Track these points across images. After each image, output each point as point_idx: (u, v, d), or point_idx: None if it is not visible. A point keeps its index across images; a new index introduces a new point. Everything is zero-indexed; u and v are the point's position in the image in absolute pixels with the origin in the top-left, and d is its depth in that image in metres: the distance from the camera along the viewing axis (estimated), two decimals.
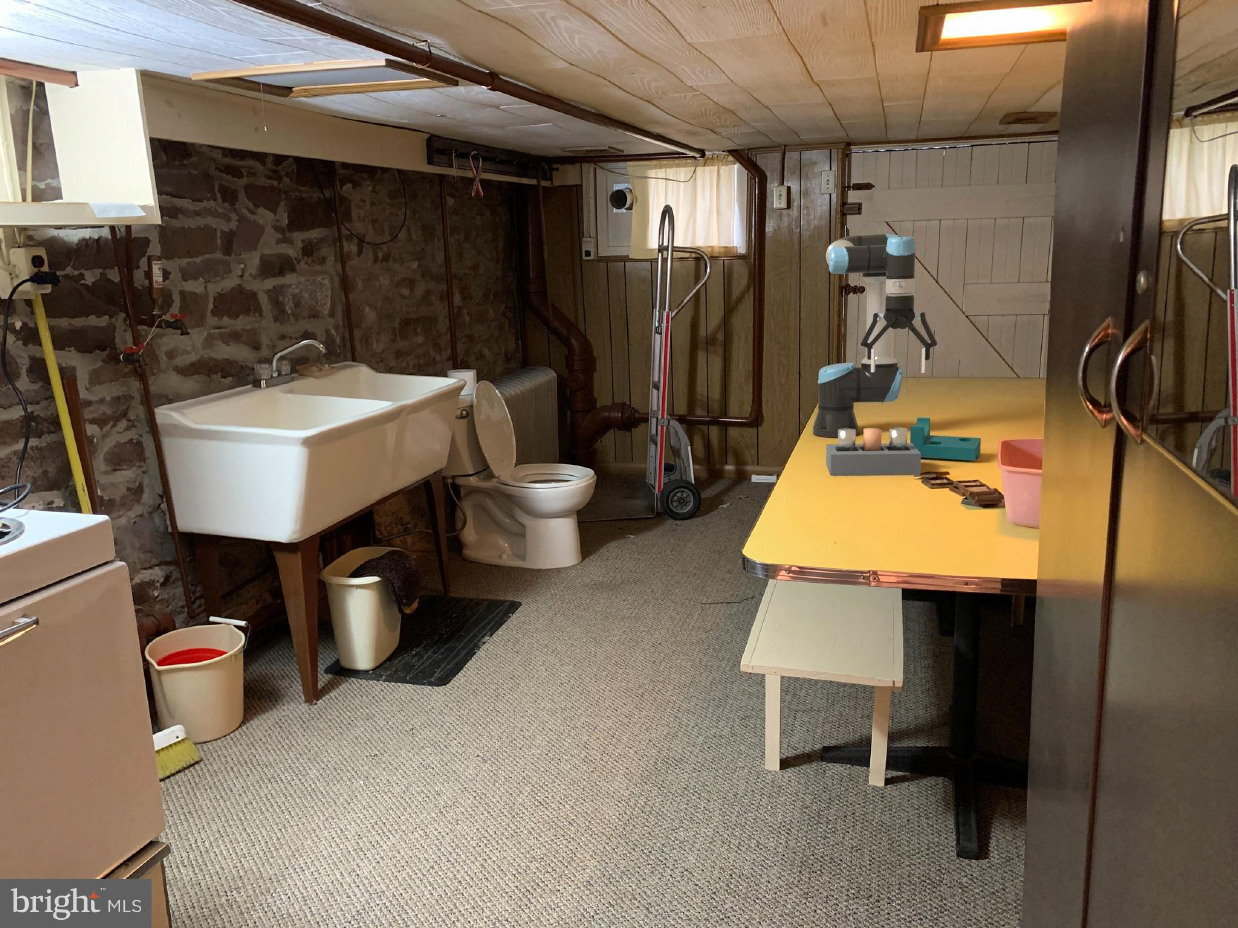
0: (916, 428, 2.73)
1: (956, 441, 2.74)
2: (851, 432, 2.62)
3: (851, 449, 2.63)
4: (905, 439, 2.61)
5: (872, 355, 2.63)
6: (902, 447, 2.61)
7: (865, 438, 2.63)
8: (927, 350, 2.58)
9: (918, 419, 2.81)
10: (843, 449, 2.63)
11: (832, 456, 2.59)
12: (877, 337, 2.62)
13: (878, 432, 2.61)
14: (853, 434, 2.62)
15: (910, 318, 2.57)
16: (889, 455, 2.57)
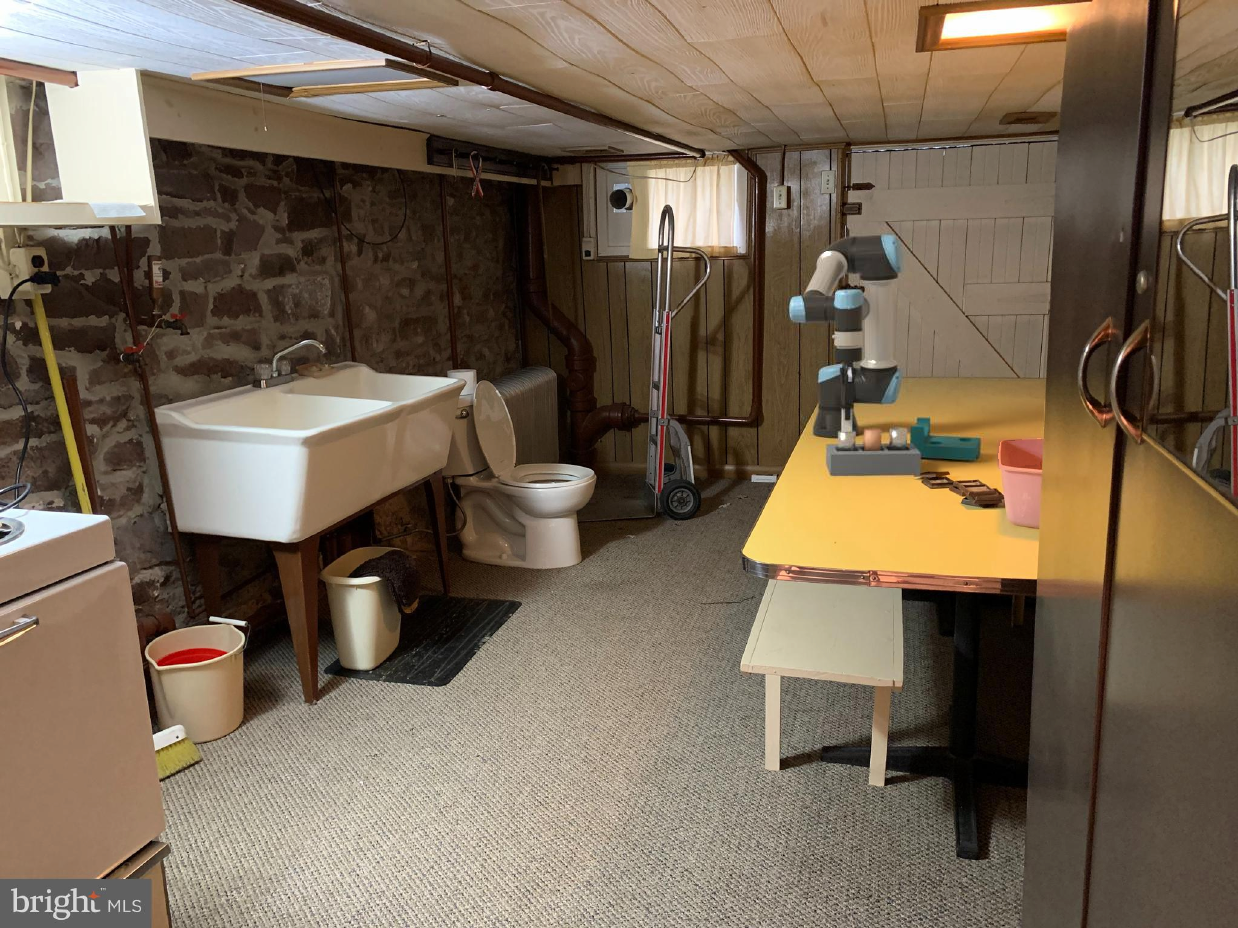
0: (916, 428, 2.73)
1: (956, 441, 2.74)
2: (851, 434, 2.62)
3: None
4: (905, 439, 2.61)
5: (841, 414, 2.63)
6: (902, 447, 2.61)
7: (865, 438, 2.63)
8: (845, 410, 2.61)
9: (918, 419, 2.81)
10: None
11: (832, 456, 2.59)
12: (842, 393, 2.63)
13: (878, 432, 2.61)
14: (853, 437, 2.62)
15: (844, 370, 2.58)
16: (889, 455, 2.57)
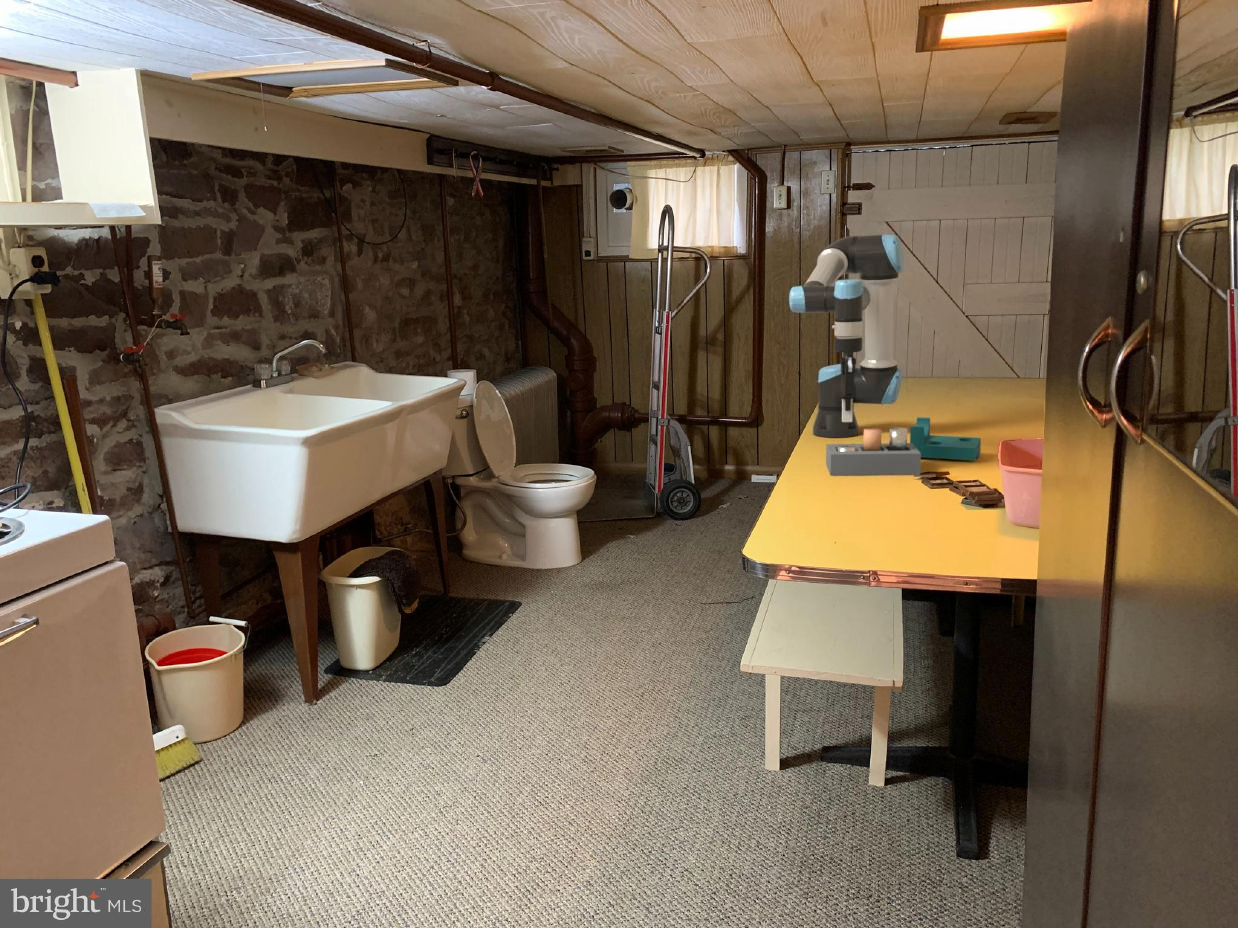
0: (916, 428, 2.73)
1: (956, 441, 2.74)
2: (851, 449, 2.63)
3: None
4: (905, 439, 2.61)
5: (842, 404, 2.63)
6: (902, 447, 2.61)
7: (865, 438, 2.63)
8: (845, 401, 2.61)
9: (918, 419, 2.81)
10: None
11: (832, 456, 2.59)
12: (842, 383, 2.62)
13: (878, 432, 2.61)
14: None
15: (844, 361, 2.57)
16: (889, 455, 2.57)
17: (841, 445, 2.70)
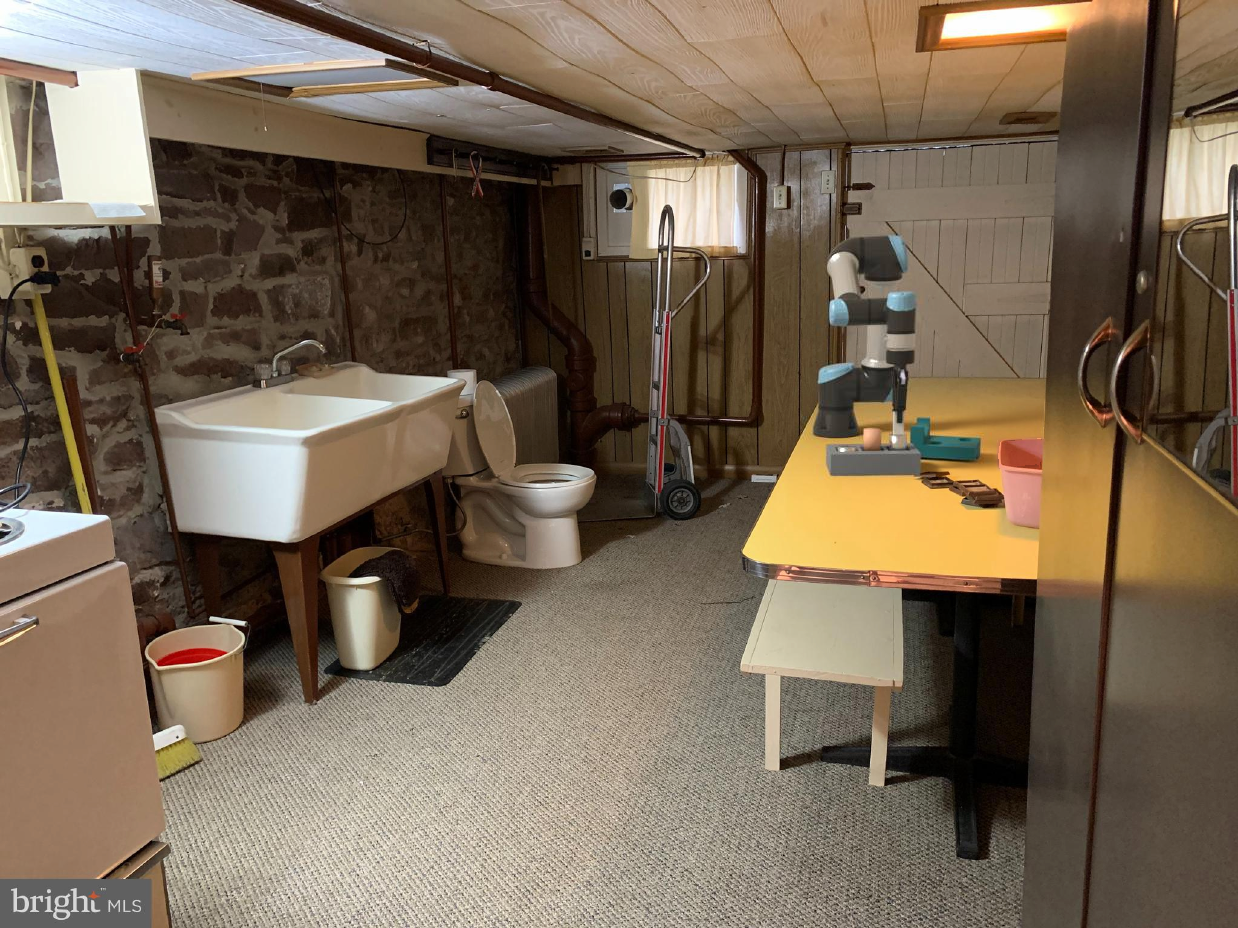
0: (916, 428, 2.73)
1: (956, 441, 2.74)
2: (851, 449, 2.63)
3: None
4: (905, 445, 2.61)
5: (893, 416, 2.62)
6: None
7: (865, 438, 2.63)
8: (897, 413, 2.60)
9: (918, 419, 2.81)
10: None
11: (832, 456, 2.59)
12: (894, 396, 2.61)
13: (878, 432, 2.61)
14: None
15: (897, 373, 2.56)
16: (889, 455, 2.57)
17: (841, 445, 2.70)
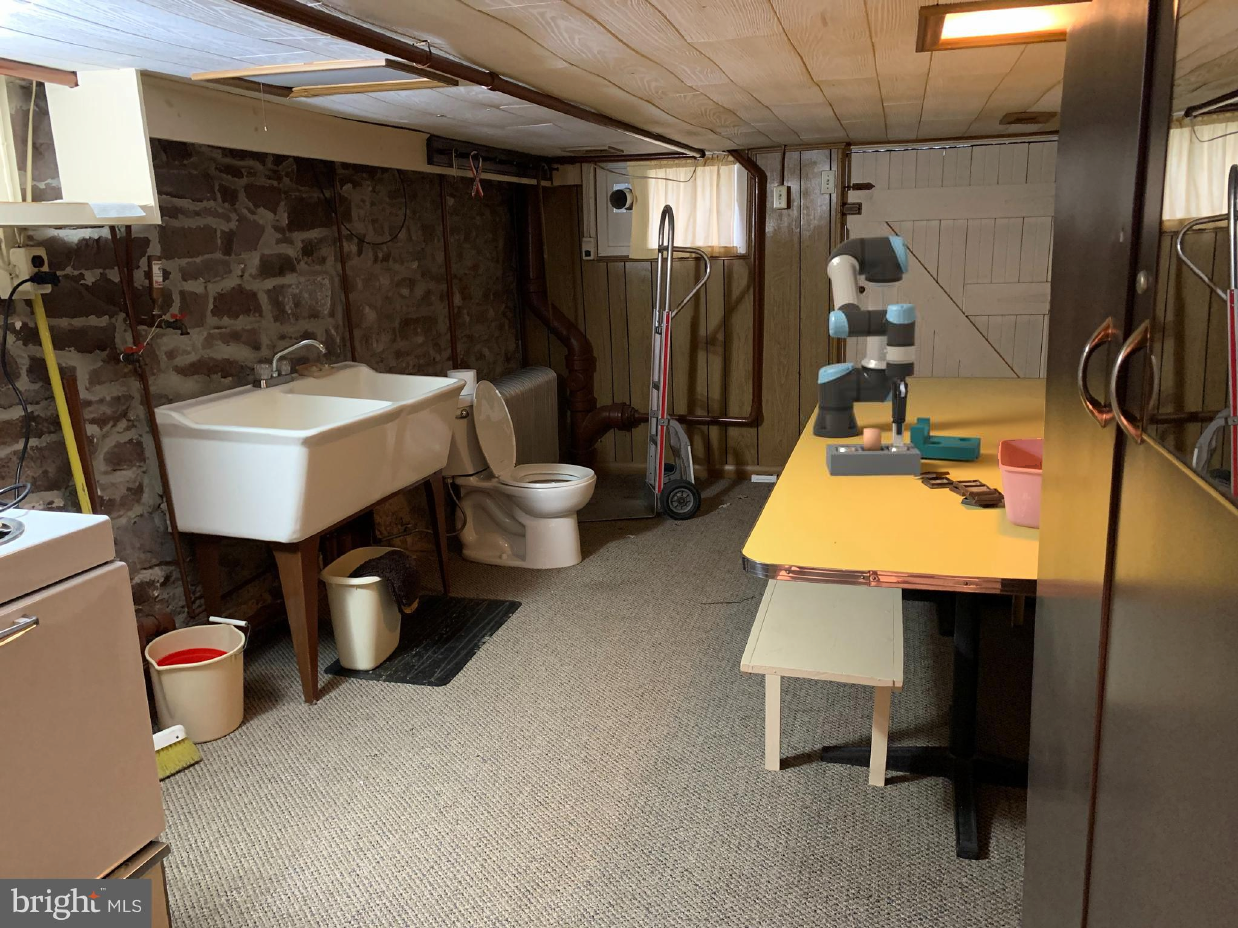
0: (916, 428, 2.73)
1: (956, 441, 2.74)
2: (851, 449, 2.63)
3: None
4: None
5: (893, 428, 2.63)
6: None
7: (865, 438, 2.63)
8: (896, 425, 2.61)
9: (918, 419, 2.81)
10: None
11: (832, 456, 2.59)
12: (893, 407, 2.62)
13: (878, 432, 2.61)
14: None
15: (897, 385, 2.57)
16: (889, 455, 2.57)
17: (841, 445, 2.70)
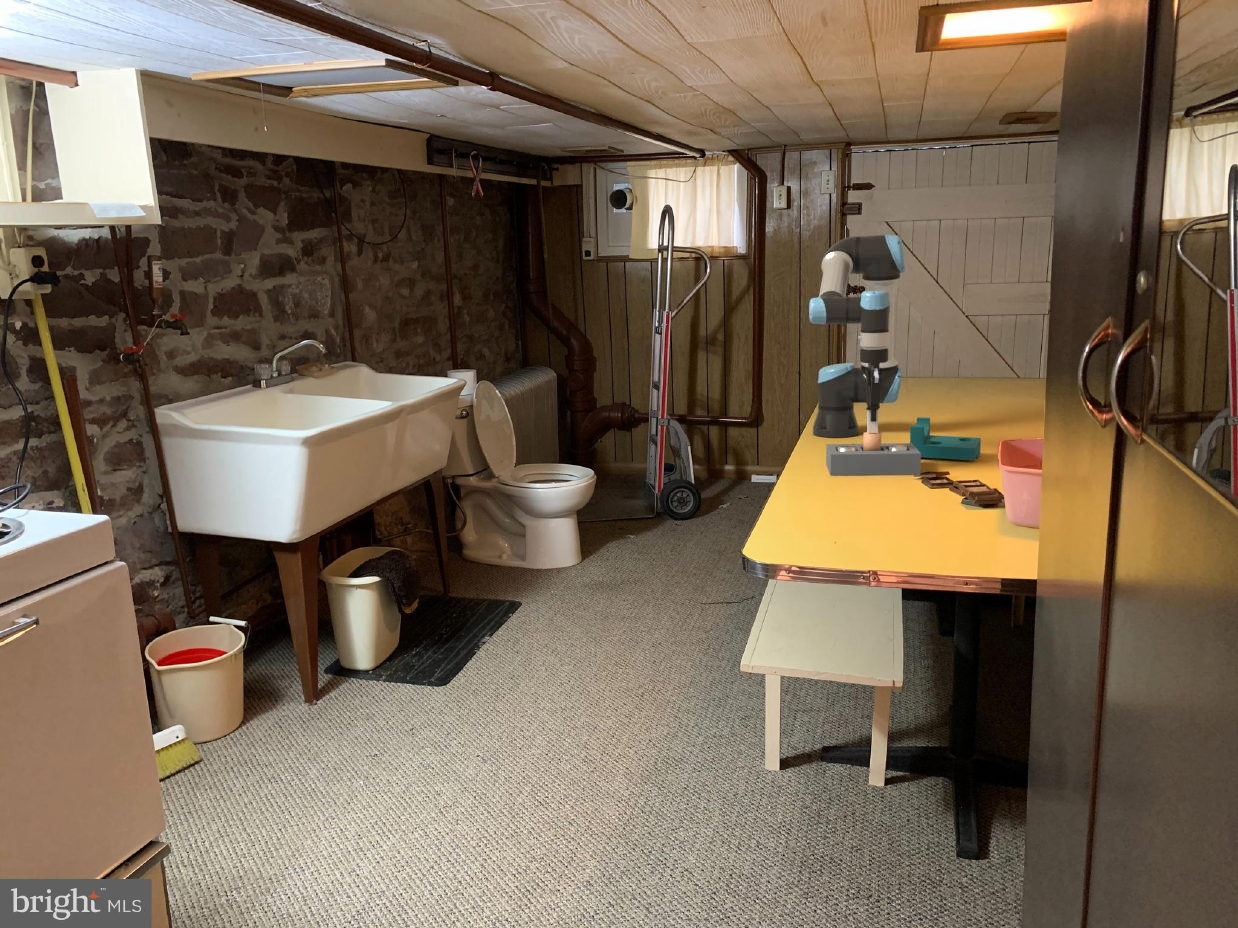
0: (916, 428, 2.73)
1: (956, 441, 2.74)
2: (851, 449, 2.63)
3: None
4: None
5: None
6: None
7: (865, 442, 2.63)
8: (871, 411, 2.60)
9: (918, 419, 2.81)
10: None
11: (832, 456, 2.59)
12: (868, 394, 2.62)
13: (878, 436, 2.61)
14: None
15: (870, 371, 2.57)
16: (889, 455, 2.57)
17: (841, 445, 2.70)
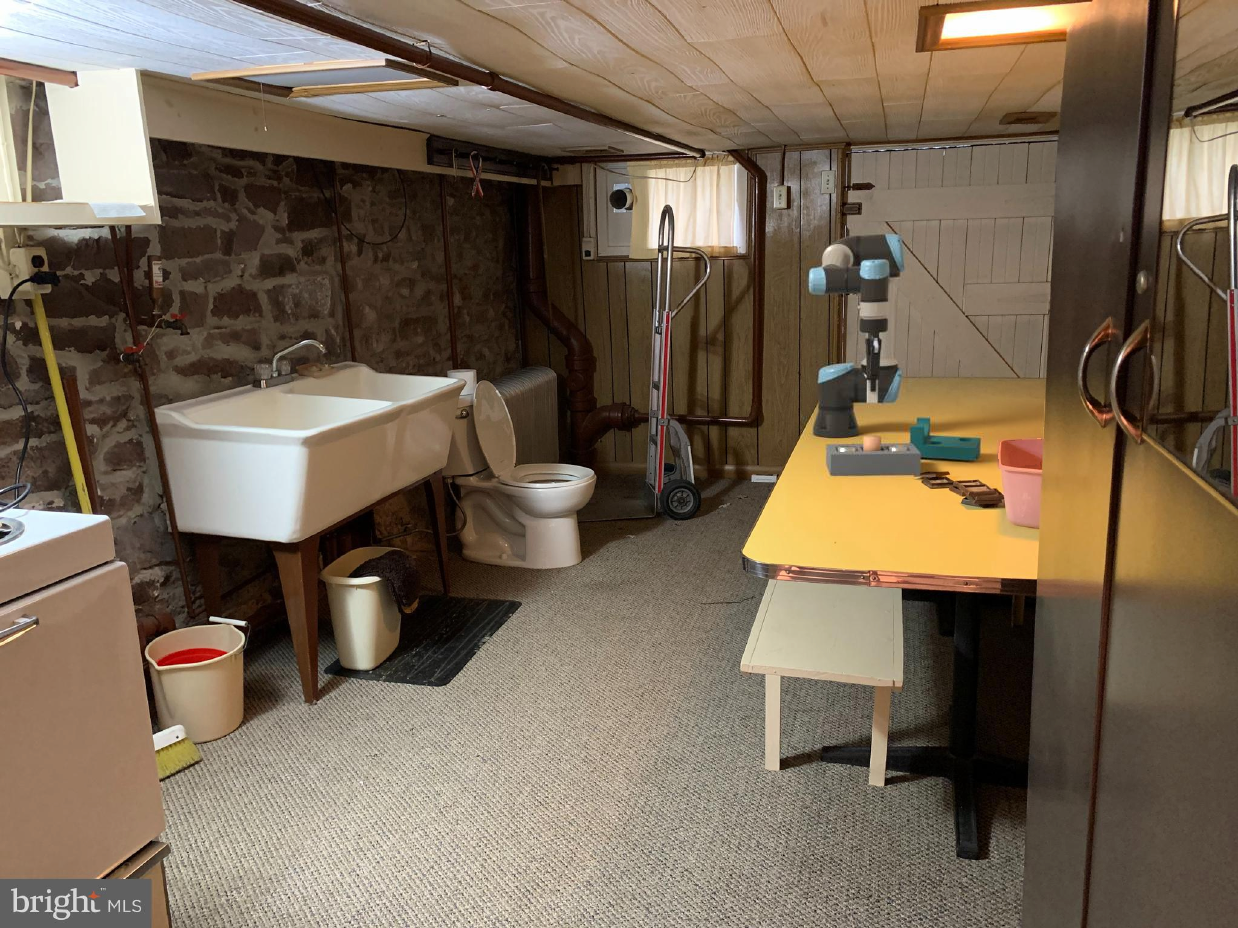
0: (916, 428, 2.73)
1: (956, 441, 2.74)
2: (851, 449, 2.63)
3: None
4: None
5: (867, 385, 2.62)
6: None
7: (865, 446, 2.63)
8: (870, 381, 2.60)
9: (918, 419, 2.81)
10: None
11: (832, 456, 2.59)
12: (867, 364, 2.62)
13: (878, 440, 2.61)
14: None
15: (870, 341, 2.56)
16: (889, 455, 2.57)
17: (841, 445, 2.70)
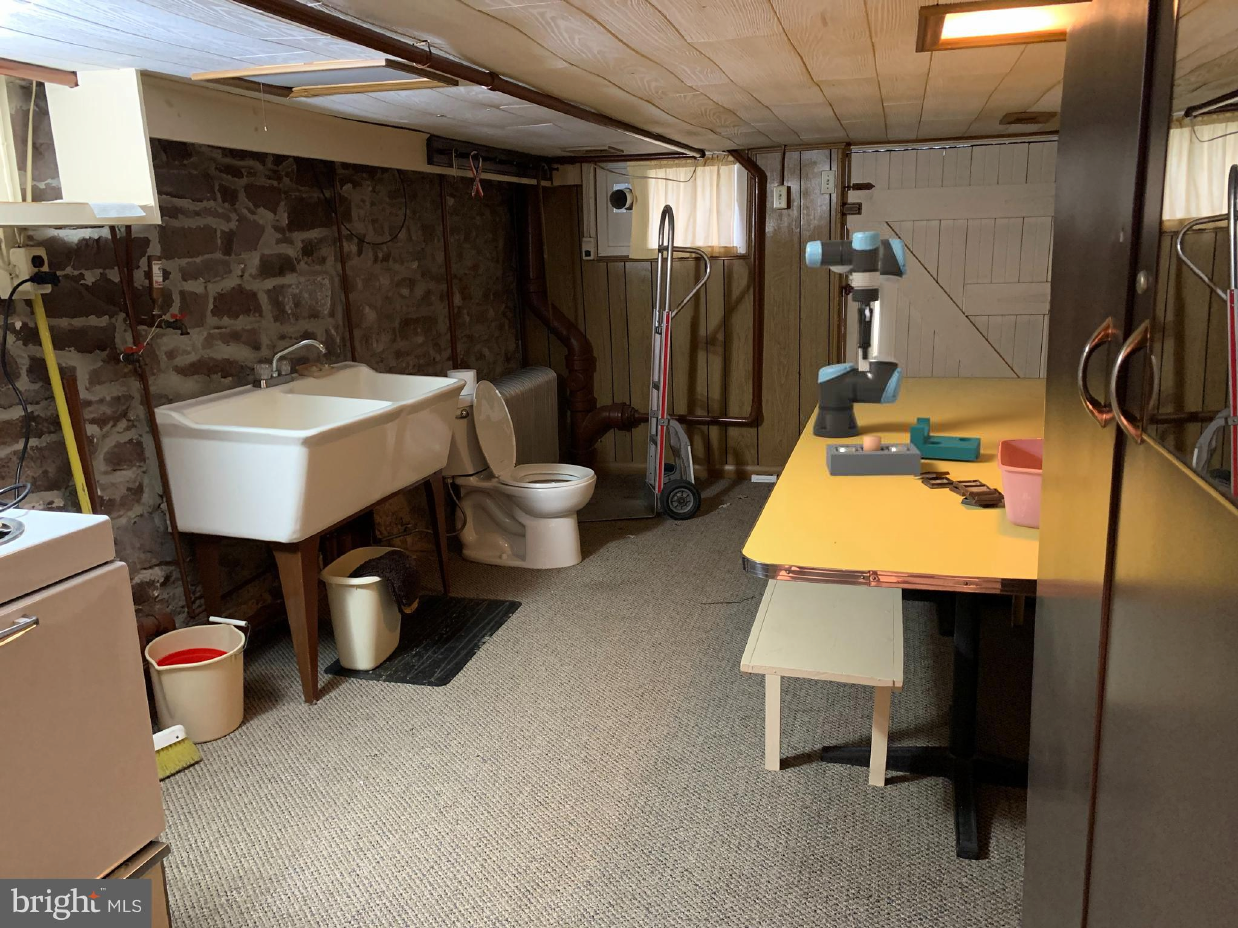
0: (916, 428, 2.73)
1: (956, 441, 2.74)
2: (851, 449, 2.63)
3: None
4: None
5: (859, 353, 2.72)
6: None
7: (865, 446, 2.63)
8: (862, 350, 2.70)
9: (918, 419, 2.81)
10: None
11: (832, 456, 2.59)
12: (859, 333, 2.71)
13: (878, 440, 2.61)
14: None
15: (862, 310, 2.66)
16: (889, 455, 2.57)
17: (841, 445, 2.70)
